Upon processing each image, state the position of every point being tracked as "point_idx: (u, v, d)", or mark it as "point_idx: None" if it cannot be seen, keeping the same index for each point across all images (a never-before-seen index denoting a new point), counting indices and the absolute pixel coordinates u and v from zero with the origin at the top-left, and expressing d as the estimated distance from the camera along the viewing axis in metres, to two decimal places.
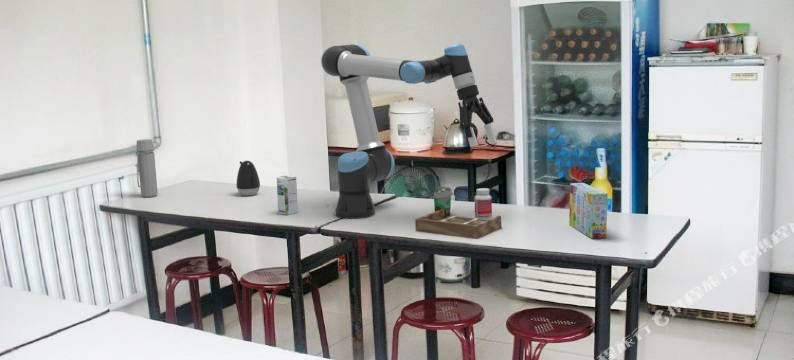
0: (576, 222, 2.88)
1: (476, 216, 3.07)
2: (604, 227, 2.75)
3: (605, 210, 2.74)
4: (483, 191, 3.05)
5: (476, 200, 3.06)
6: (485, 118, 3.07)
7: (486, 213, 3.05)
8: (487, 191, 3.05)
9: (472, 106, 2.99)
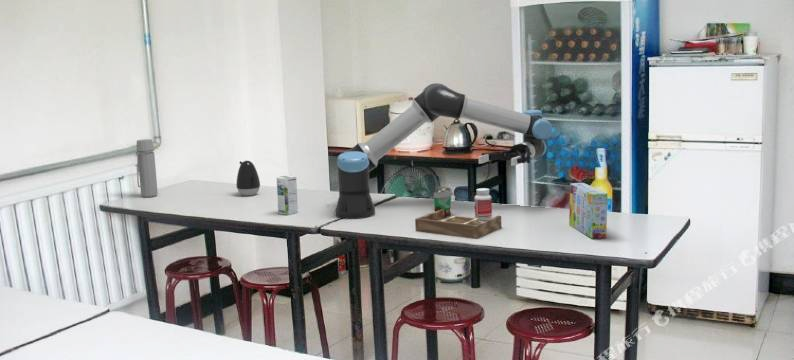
0: (576, 222, 2.88)
1: (476, 216, 3.07)
2: (604, 227, 2.75)
3: (605, 210, 2.74)
4: (483, 191, 3.05)
5: (476, 200, 3.06)
6: (493, 158, 3.23)
7: (486, 213, 3.05)
8: (487, 191, 3.05)
9: None
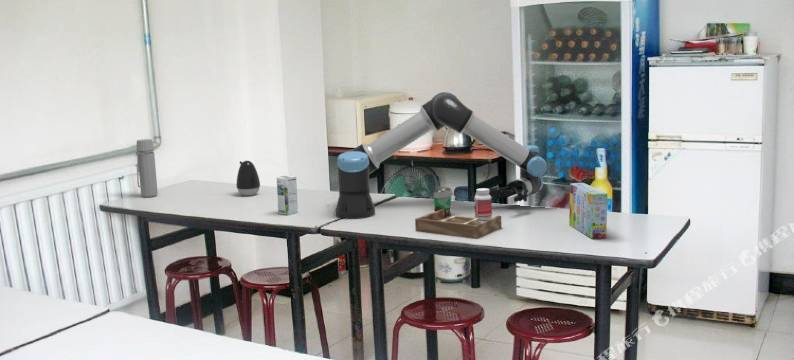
0: (576, 222, 2.88)
1: (476, 216, 3.07)
2: (604, 227, 2.75)
3: (605, 210, 2.74)
4: (483, 191, 3.05)
5: (476, 200, 3.06)
6: (490, 195, 3.22)
7: (486, 213, 3.05)
8: (487, 191, 3.05)
9: None
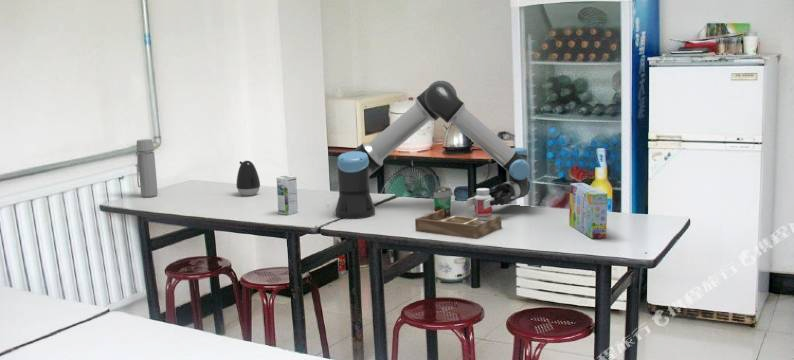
0: (576, 222, 2.88)
1: (476, 216, 3.07)
2: (604, 227, 2.75)
3: (605, 210, 2.74)
4: (483, 191, 3.05)
5: (476, 200, 3.06)
6: None
7: (486, 213, 3.05)
8: (487, 191, 3.05)
9: None
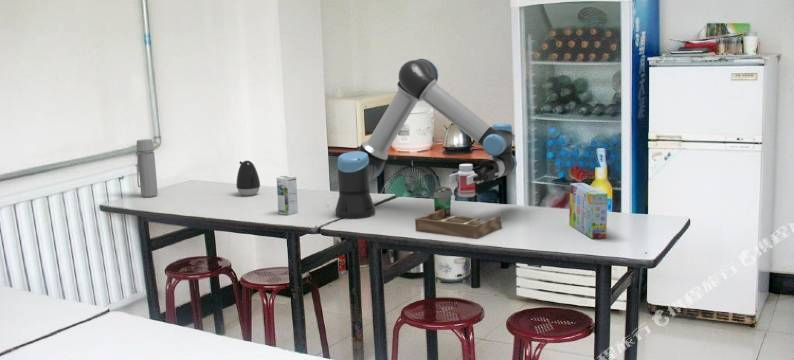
0: (576, 222, 2.88)
1: (459, 193, 2.94)
2: (604, 227, 2.75)
3: (605, 210, 2.74)
4: (466, 166, 2.92)
5: (459, 176, 2.93)
6: None
7: (469, 190, 2.92)
8: (470, 166, 2.92)
9: None
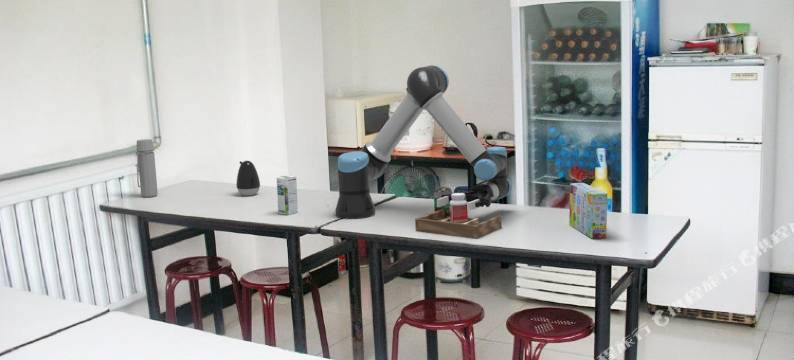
0: (576, 222, 2.88)
1: None
2: (604, 227, 2.75)
3: (605, 210, 2.74)
4: (458, 196, 2.91)
5: (451, 205, 2.92)
6: None
7: (461, 219, 2.92)
8: (462, 196, 2.92)
9: None
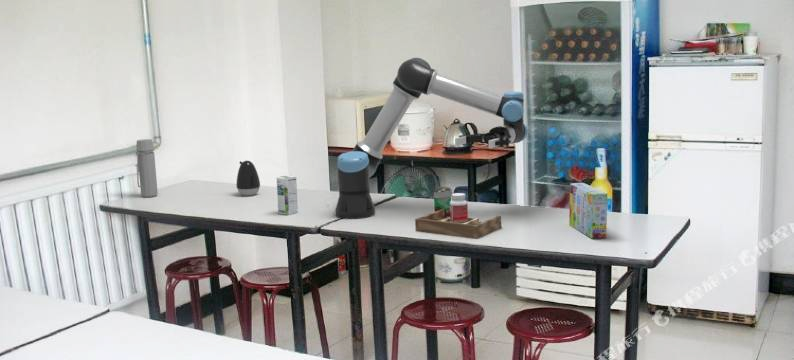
0: (576, 222, 2.88)
1: None
2: (604, 227, 2.75)
3: (605, 210, 2.74)
4: (458, 196, 2.91)
5: (451, 205, 2.92)
6: (470, 141, 3.08)
7: (461, 220, 2.92)
8: (463, 196, 2.91)
9: None
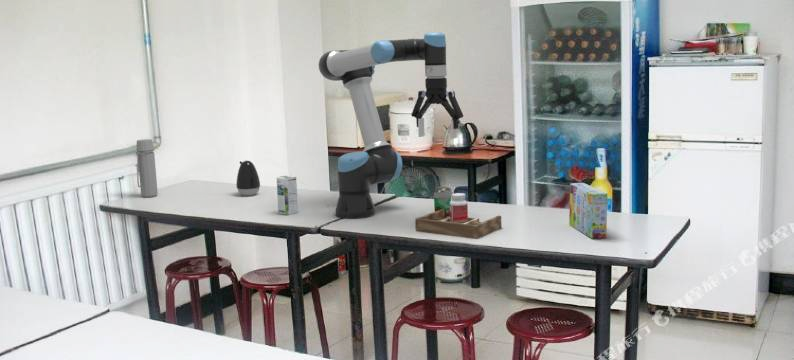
0: (576, 222, 2.88)
1: None
2: (604, 227, 2.75)
3: (605, 210, 2.74)
4: (458, 196, 2.91)
5: (451, 206, 2.92)
6: None
7: (461, 220, 2.92)
8: (463, 196, 2.91)
9: (427, 99, 2.99)
